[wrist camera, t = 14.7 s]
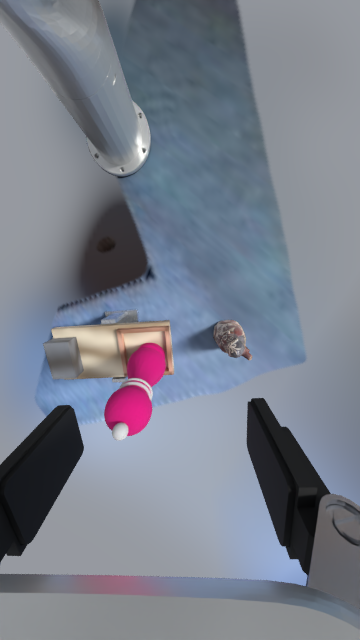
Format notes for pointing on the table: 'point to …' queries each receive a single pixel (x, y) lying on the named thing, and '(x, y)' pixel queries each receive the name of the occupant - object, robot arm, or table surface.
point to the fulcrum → (120, 317)
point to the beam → (104, 348)
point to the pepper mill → (135, 392)
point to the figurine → (231, 339)
